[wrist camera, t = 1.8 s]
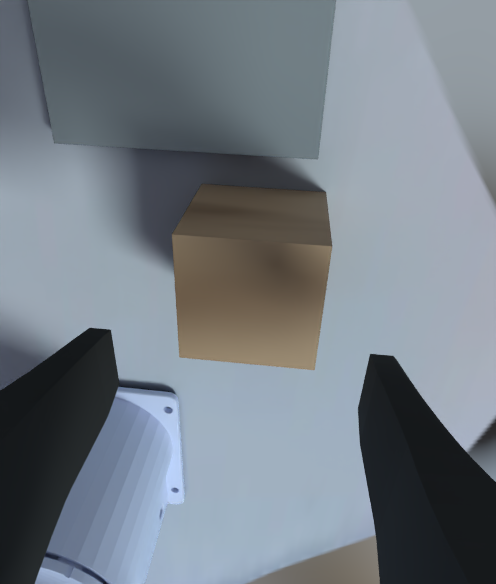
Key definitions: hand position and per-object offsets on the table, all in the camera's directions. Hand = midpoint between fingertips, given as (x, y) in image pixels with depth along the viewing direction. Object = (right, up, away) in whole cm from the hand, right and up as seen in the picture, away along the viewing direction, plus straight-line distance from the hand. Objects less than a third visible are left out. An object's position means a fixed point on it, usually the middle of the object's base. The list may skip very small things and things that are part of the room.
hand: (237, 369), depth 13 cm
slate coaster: (-2, +12, +2) cm, 12 cm away
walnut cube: (+1, +4, +7) cm, 8 cm away
